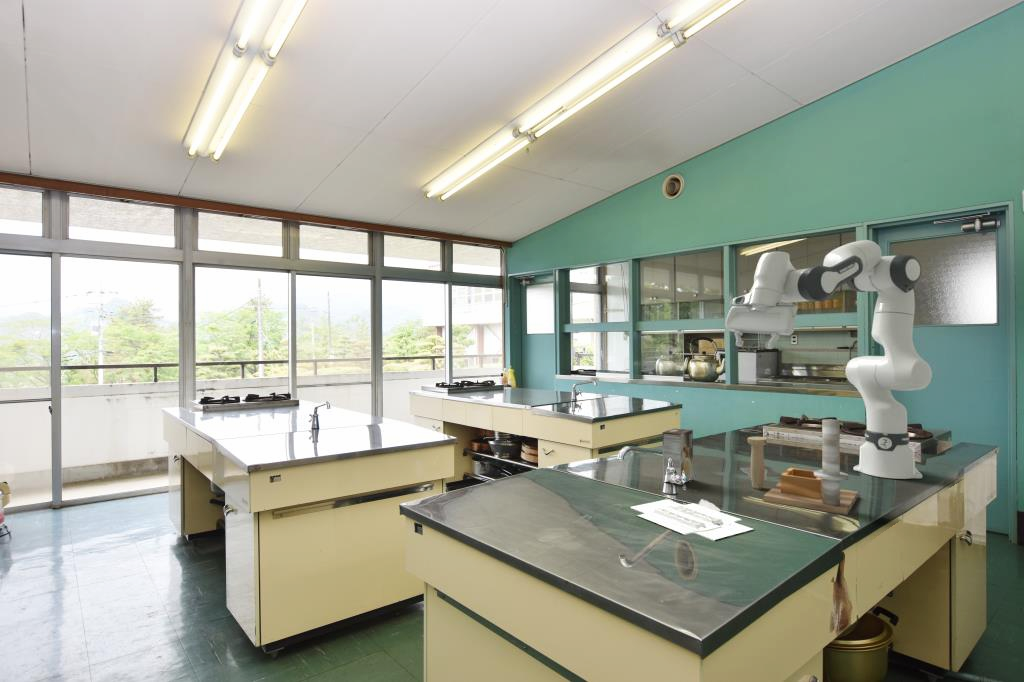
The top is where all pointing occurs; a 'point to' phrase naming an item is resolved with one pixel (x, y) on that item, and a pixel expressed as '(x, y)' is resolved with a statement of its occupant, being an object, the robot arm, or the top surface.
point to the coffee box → (678, 451)
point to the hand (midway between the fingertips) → (753, 347)
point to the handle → (757, 461)
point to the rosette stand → (817, 480)
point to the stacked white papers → (692, 518)
